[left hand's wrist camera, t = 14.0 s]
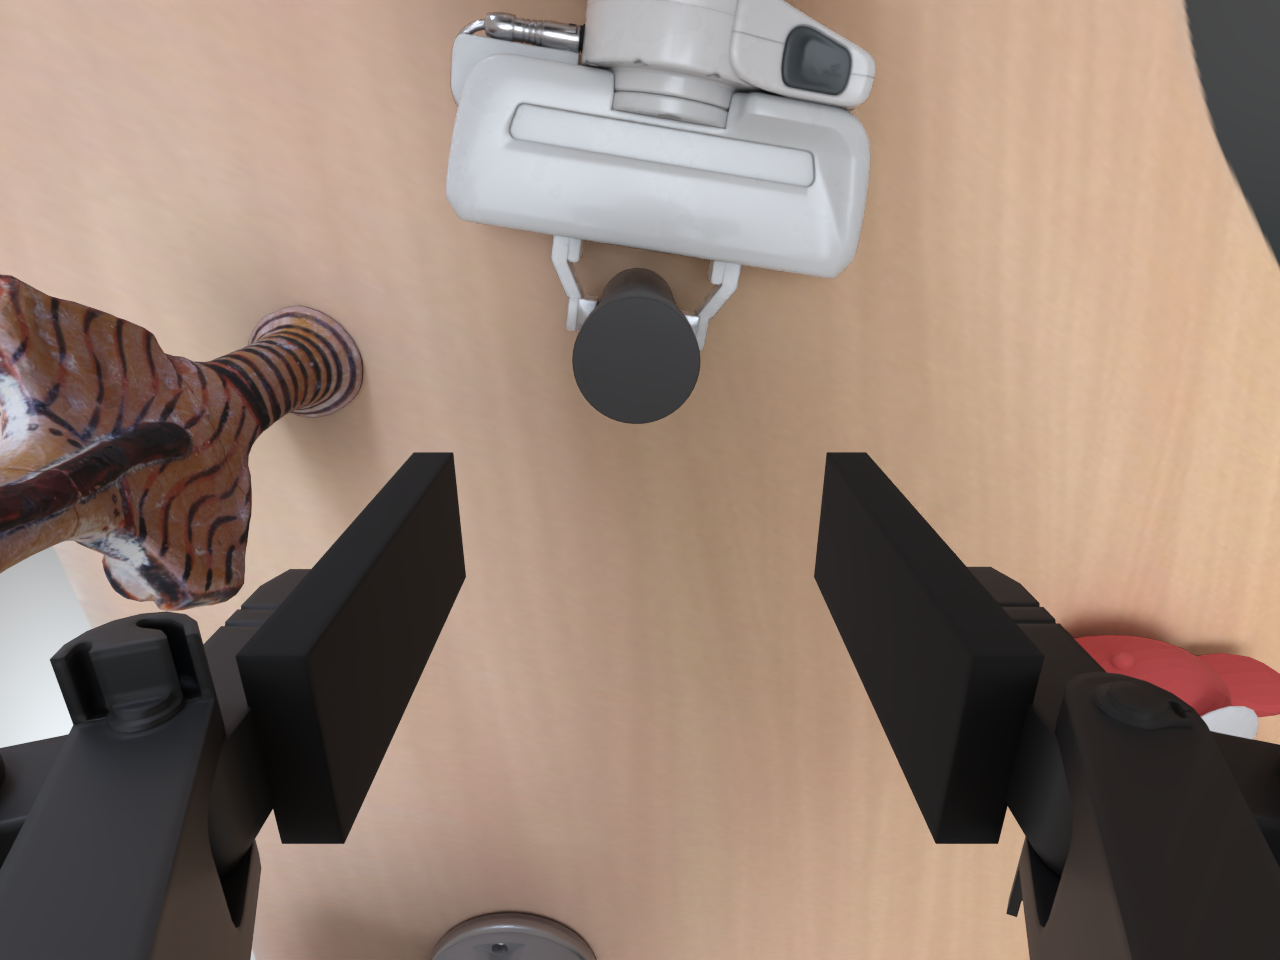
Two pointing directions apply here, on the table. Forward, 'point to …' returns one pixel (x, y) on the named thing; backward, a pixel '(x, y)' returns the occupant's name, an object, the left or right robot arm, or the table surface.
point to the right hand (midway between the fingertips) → (635, 339)
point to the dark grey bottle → (637, 284)
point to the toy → (1196, 679)
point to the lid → (636, 357)
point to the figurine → (148, 438)
